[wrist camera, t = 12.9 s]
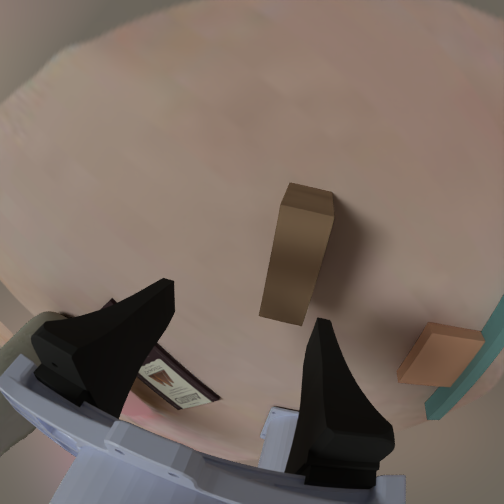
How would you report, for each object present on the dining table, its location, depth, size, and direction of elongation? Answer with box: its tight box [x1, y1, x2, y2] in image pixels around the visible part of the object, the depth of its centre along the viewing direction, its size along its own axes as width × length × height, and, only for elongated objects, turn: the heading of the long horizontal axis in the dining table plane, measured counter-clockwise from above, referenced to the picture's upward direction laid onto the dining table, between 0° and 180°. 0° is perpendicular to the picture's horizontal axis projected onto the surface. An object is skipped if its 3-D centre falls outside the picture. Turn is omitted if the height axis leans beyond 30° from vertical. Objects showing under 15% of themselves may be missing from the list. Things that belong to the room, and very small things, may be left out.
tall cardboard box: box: [259, 183, 335, 326], centre depth 20 cm, size 8×3×5 cm, turn 172°
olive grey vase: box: [0, 311, 68, 456], centre depth 24 cm, size 10×10×28 cm
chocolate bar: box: [100, 298, 220, 410], centre depth 34 cm, size 9×1×18 cm
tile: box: [397, 322, 485, 387], centre depth 23 cm, size 7×7×2 cm
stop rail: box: [425, 295, 504, 420], centre depth 21 cm, size 20×2×2 cm, turn 172°
